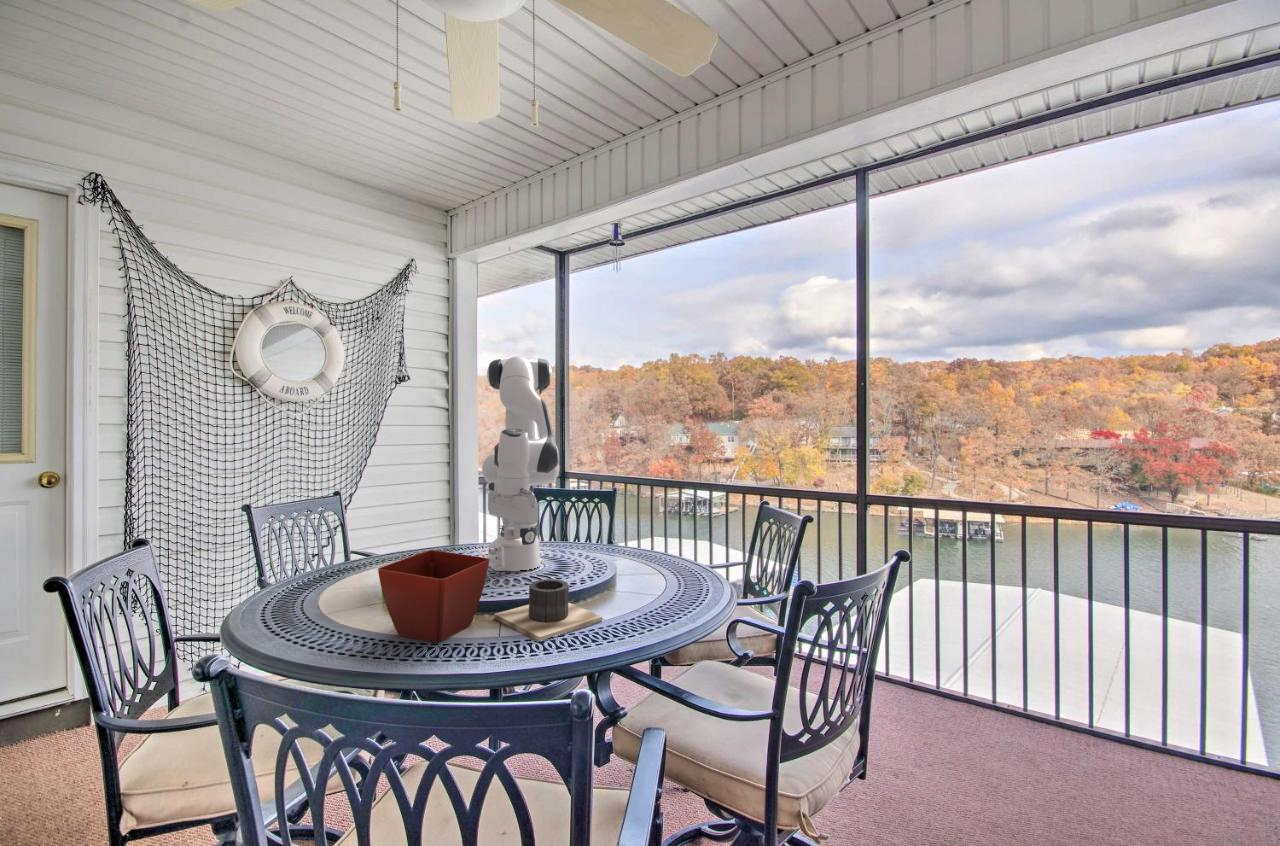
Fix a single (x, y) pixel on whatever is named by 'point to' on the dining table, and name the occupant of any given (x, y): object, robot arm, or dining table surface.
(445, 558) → the plant pot
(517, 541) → the white short cylinder
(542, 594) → the stand
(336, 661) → the dining table surface
